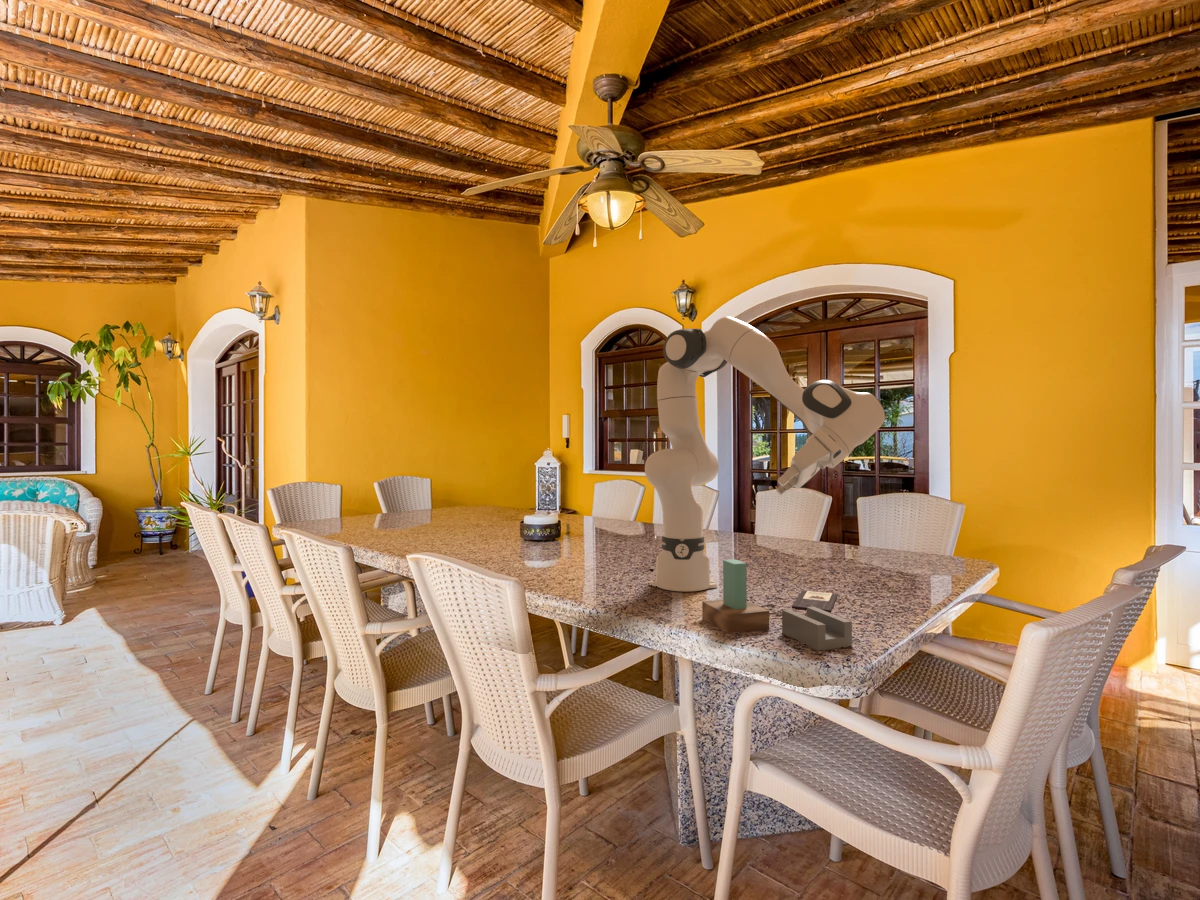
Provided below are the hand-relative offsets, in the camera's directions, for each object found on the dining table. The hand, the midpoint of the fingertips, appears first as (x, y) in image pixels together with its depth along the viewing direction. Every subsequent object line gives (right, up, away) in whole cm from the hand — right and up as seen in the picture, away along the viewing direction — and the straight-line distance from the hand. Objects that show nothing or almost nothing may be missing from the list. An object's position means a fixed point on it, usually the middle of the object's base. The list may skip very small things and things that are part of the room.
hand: (778, 488), depth 145 cm
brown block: (-11, -30, -3) cm, 32 cm away
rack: (+3, -30, -14) cm, 34 cm away
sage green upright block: (-11, -26, -3) cm, 29 cm away
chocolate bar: (+14, -31, +16) cm, 37 cm away
